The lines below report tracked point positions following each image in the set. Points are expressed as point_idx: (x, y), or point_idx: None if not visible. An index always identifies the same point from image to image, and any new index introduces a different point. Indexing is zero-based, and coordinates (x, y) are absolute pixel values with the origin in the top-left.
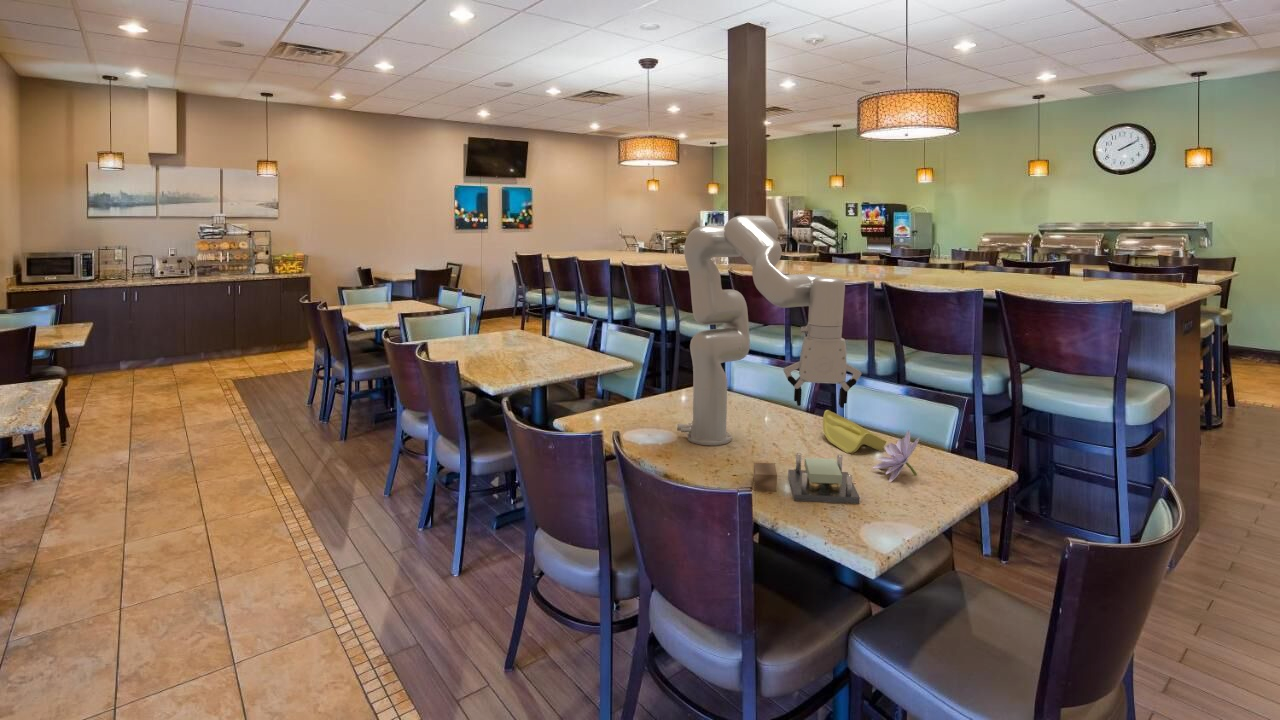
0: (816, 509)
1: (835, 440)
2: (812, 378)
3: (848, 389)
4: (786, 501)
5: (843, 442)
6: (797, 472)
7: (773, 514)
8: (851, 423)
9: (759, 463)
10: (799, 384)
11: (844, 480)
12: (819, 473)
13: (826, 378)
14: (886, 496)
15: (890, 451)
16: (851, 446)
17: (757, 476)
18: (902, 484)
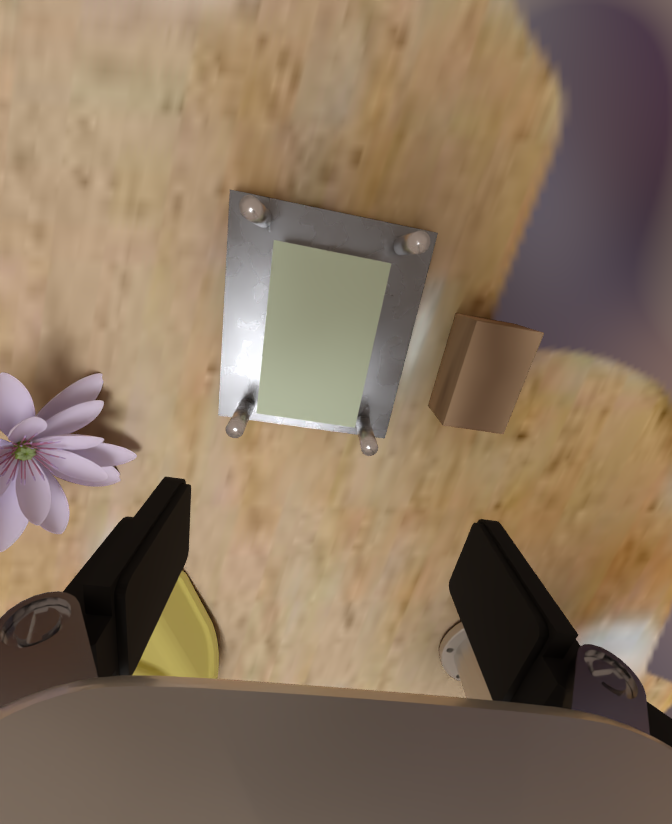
0: (386, 152)
1: (198, 628)
2: (575, 782)
3: (25, 612)
4: (455, 231)
5: (181, 612)
6: (366, 416)
7: (537, 115)
8: None
9: (490, 425)
10: (605, 696)
11: (244, 348)
12: (354, 265)
13: (326, 782)
14: (133, 257)
15: (54, 508)
16: None
17: (531, 330)
18: (67, 355)
